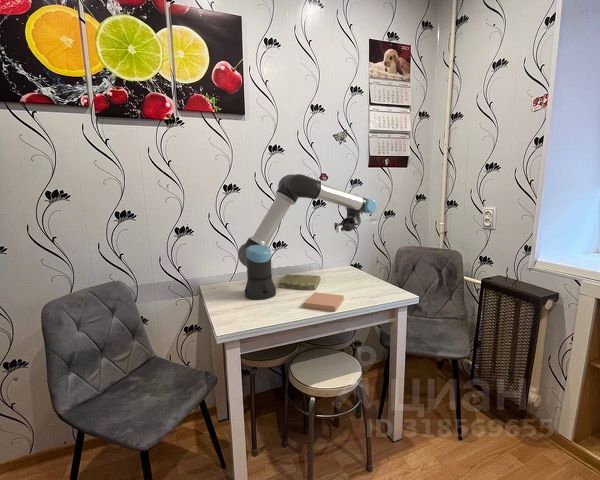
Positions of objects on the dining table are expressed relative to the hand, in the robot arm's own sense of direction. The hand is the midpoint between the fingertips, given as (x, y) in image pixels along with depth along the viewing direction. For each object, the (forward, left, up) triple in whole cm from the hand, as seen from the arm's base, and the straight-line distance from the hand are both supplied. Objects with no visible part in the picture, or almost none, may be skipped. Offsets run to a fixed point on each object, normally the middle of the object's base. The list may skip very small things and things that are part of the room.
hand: (337, 229), depth 159 cm
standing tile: (0, -15, -29) cm, 33 cm away
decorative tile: (-21, +1, -31) cm, 37 cm away
